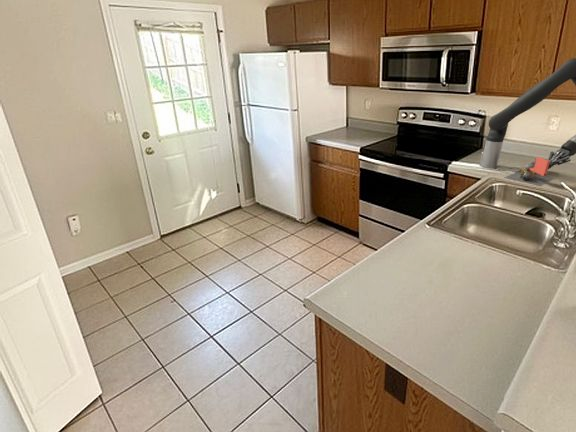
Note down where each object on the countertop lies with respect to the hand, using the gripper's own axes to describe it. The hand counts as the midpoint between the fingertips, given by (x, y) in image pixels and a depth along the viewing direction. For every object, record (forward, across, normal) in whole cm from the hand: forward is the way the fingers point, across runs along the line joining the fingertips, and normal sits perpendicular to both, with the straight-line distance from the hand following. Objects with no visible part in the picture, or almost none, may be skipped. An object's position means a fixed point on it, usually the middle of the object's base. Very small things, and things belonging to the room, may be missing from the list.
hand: (546, 168), depth 196 cm
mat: (+7, -10, +7) cm, 14 cm away
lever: (+3, -6, +2) cm, 7 cm away
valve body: (+7, -12, +6) cm, 15 cm away
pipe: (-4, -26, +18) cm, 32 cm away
